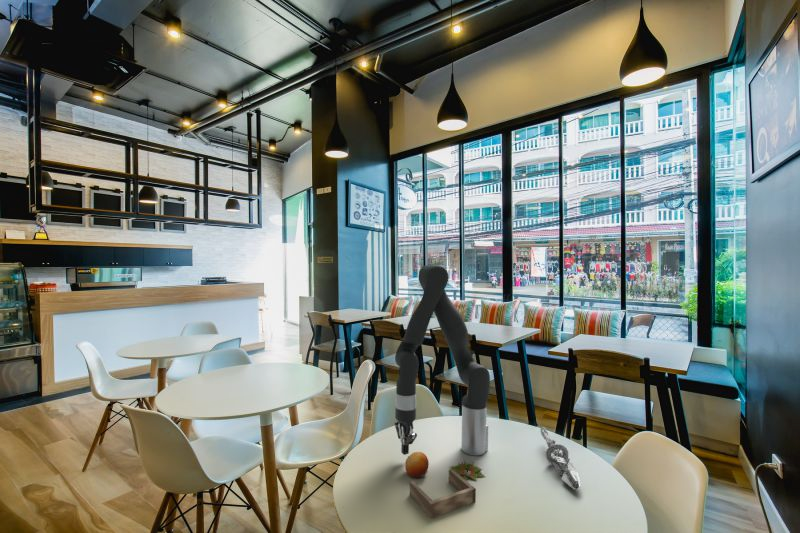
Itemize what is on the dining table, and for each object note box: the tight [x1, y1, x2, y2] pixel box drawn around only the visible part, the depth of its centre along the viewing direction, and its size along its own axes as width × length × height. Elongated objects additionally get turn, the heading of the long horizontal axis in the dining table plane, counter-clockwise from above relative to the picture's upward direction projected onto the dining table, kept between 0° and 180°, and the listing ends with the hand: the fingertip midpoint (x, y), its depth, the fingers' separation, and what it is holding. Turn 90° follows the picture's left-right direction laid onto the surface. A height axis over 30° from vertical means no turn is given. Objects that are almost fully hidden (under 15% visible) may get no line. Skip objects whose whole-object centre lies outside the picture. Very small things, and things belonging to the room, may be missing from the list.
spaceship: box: [540, 426, 581, 491], centre depth 133 cm, size 8×35×8 cm
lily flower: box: [450, 457, 486, 482], centre depth 127 cm, size 12×12×5 cm
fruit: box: [404, 451, 430, 479], centre depth 126 cm, size 8×8×8 cm
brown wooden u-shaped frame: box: [409, 468, 477, 519], centre depth 113 cm, size 16×12×4 cm
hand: (404, 453), depth 133 cm, fingers closed
